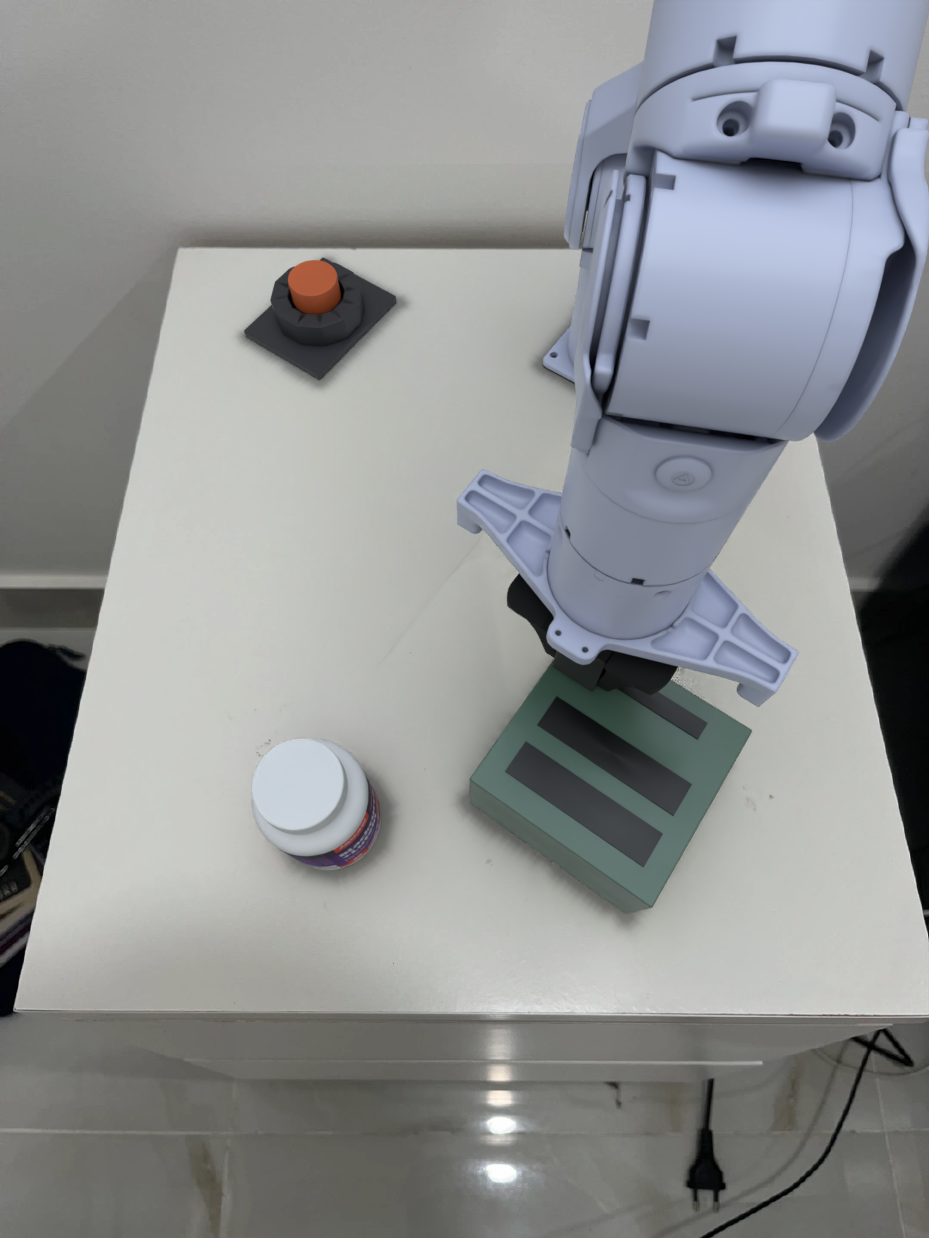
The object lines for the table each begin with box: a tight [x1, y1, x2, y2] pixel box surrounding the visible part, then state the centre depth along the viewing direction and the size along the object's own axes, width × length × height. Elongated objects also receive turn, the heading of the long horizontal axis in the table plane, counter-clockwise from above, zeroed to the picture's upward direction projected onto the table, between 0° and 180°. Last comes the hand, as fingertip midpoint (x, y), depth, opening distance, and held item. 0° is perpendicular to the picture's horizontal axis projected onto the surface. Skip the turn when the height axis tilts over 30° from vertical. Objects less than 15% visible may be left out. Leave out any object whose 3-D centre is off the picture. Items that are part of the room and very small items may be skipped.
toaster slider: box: [552, 650, 614, 691], centre depth 37 cm, size 3×2×4 cm
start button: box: [288, 259, 341, 315], centre depth 53 cm, size 3×3×2 cm
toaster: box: [469, 659, 753, 915], centre depth 39 cm, size 10×10×6 cm
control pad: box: [243, 257, 397, 381], centre depth 55 cm, size 9×7×2 cm
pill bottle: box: [251, 737, 382, 871], centre depth 37 cm, size 5×5×10 cm
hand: (586, 656), depth 38 cm, fingers closed on toaster slider, 2 cm apart
